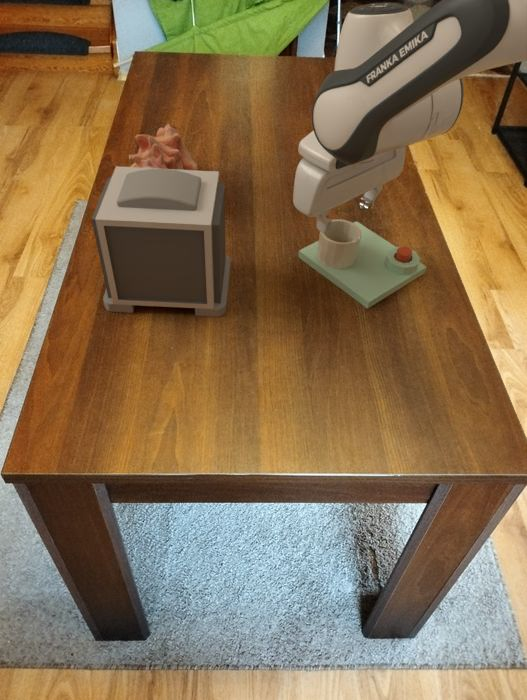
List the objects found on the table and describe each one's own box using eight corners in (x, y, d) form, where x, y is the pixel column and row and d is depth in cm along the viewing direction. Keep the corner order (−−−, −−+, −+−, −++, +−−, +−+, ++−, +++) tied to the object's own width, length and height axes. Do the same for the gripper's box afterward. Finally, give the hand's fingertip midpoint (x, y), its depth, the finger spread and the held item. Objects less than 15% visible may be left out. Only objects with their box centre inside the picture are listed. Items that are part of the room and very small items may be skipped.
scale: (424, 273, 95) (429, 259, 93) (367, 308, 88) (370, 294, 86) (355, 227, 103) (357, 213, 101) (297, 257, 96) (299, 242, 94)
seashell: (225, 209, 99) (161, 155, 88) (170, 250, 105) (105, 203, 94) (215, 135, 111) (158, 80, 101) (167, 175, 117) (109, 127, 107)
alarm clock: (231, 261, 95) (230, 160, 81) (225, 317, 86) (223, 213, 72) (120, 256, 95) (101, 153, 81) (103, 311, 86) (78, 206, 72)
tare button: (413, 259, 93) (415, 251, 92) (403, 265, 92) (405, 257, 91) (401, 252, 94) (404, 244, 93) (392, 257, 93) (394, 250, 92)
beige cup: (364, 258, 95) (370, 233, 91) (336, 274, 92) (340, 249, 88) (336, 239, 98) (340, 214, 94) (308, 253, 95) (311, 228, 91)
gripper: (391, 106, 85) (375, 188, 96) (289, 146, 76) (283, 232, 86) (424, 122, 82) (404, 205, 92) (322, 165, 73) (312, 252, 83)
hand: (345, 218), depth 89 cm, fingers open, 8 cm apart
